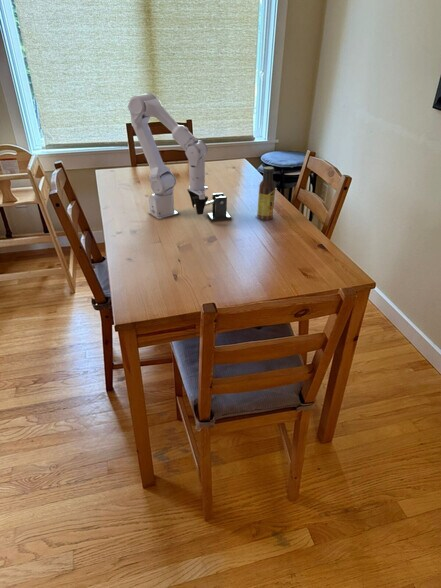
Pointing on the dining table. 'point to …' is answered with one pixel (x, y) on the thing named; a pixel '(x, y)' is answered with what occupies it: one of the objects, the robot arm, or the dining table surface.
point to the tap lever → (208, 202)
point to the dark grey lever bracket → (219, 208)
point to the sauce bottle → (266, 195)
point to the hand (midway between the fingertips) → (197, 210)
